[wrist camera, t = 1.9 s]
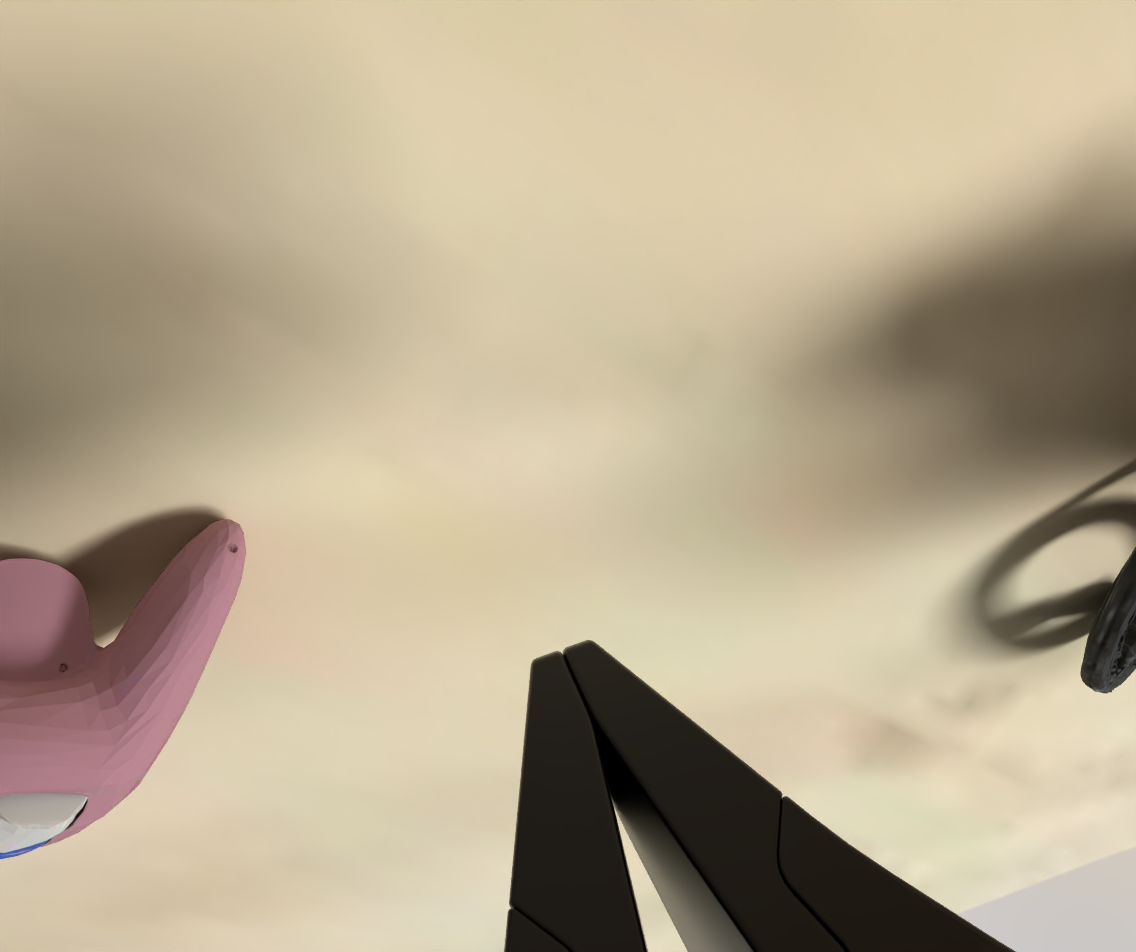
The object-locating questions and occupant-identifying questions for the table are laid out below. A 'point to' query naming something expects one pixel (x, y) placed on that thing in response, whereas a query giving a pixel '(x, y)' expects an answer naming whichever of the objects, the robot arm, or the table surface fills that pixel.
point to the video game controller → (99, 684)
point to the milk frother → (1113, 635)
